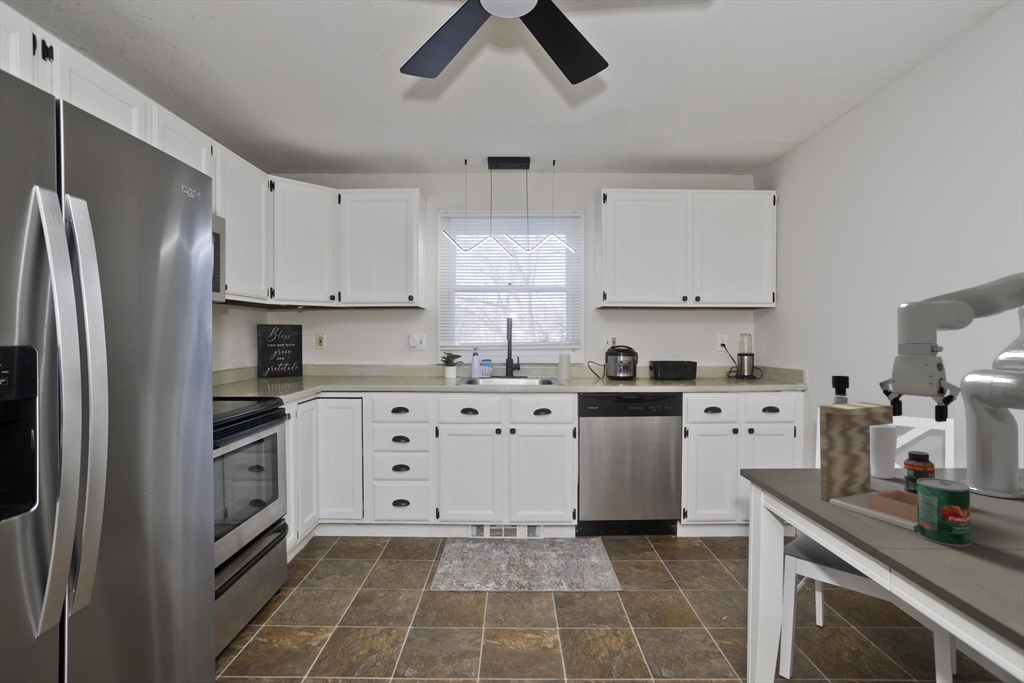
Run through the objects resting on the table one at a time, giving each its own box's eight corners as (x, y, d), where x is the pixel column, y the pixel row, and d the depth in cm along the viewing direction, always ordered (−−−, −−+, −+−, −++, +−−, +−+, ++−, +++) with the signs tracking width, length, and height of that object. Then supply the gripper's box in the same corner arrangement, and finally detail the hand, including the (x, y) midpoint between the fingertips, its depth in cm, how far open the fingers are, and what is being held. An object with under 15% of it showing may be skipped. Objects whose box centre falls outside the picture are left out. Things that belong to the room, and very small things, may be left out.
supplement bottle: (935, 496, 119) (935, 452, 119) (935, 502, 115) (934, 456, 115) (905, 491, 123) (904, 448, 123) (903, 497, 119) (902, 452, 119)
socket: (874, 495, 120) (874, 479, 120) (961, 520, 104) (960, 501, 104) (829, 503, 115) (829, 487, 115) (913, 530, 98) (913, 511, 98)
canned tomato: (965, 550, 89) (964, 492, 89) (912, 537, 95) (911, 482, 95) (975, 539, 93) (974, 484, 94) (923, 527, 100) (922, 475, 100)
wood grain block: (864, 491, 124) (863, 402, 124) (894, 499, 117) (892, 405, 117) (820, 499, 118) (819, 405, 118) (849, 508, 112) (847, 409, 112)
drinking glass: (903, 481, 132) (902, 427, 132) (875, 480, 134) (874, 427, 134) (888, 474, 139) (888, 423, 139) (863, 473, 140) (862, 423, 140)
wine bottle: (828, 480, 134) (826, 375, 134) (856, 484, 130) (854, 375, 130) (827, 486, 129) (825, 376, 129) (856, 490, 125) (854, 377, 125)
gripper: (968, 351, 112) (970, 422, 112) (889, 350, 128) (890, 413, 128) (949, 351, 109) (950, 425, 109) (870, 350, 126) (871, 414, 126)
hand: (918, 418), depth 119 cm, fingers open, 9 cm apart
